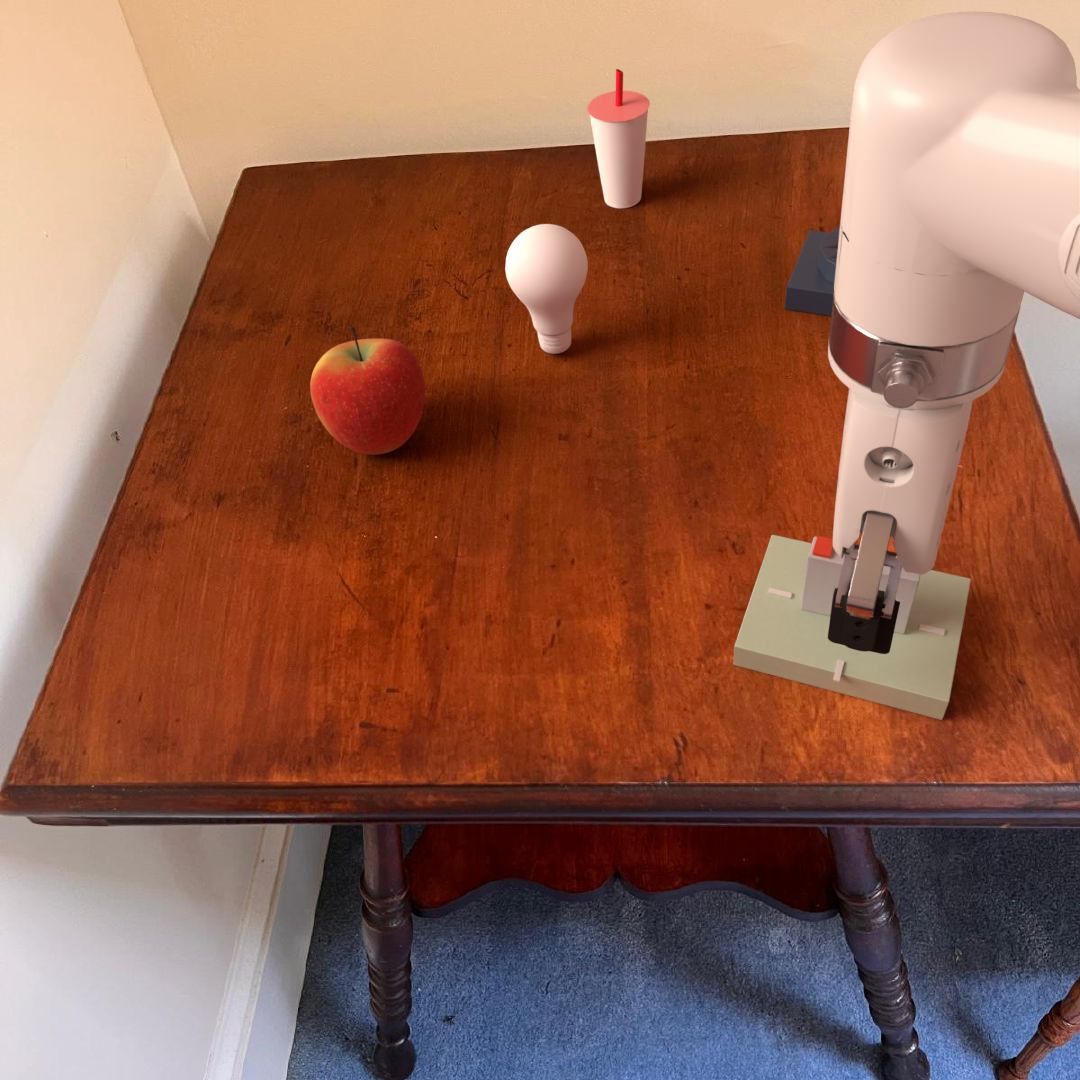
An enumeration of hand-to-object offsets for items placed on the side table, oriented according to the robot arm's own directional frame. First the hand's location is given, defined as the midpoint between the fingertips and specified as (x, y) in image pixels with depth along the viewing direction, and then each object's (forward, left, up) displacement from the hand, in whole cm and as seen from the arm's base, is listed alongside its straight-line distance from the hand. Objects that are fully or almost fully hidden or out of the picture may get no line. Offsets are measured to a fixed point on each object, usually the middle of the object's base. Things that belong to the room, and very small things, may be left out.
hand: (875, 575), depth 58 cm
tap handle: (+1, 0, -4) cm, 4 cm away
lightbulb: (+28, -20, -6) cm, 35 cm away
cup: (+30, -42, -6) cm, 52 cm away
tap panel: (+1, 0, -6) cm, 6 cm away
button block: (+7, -34, -6) cm, 35 cm away
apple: (+37, -7, -6) cm, 38 cm away
